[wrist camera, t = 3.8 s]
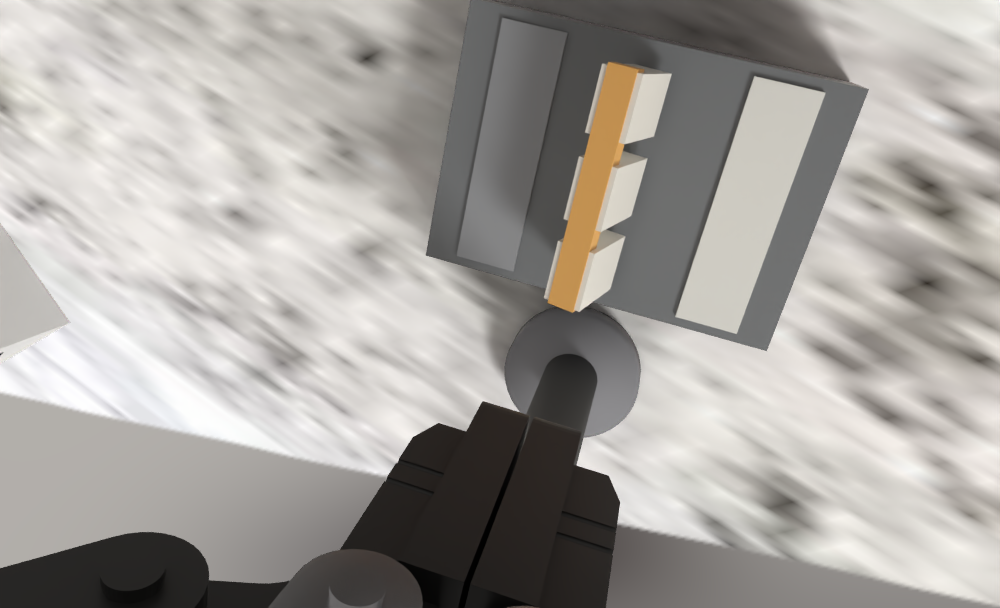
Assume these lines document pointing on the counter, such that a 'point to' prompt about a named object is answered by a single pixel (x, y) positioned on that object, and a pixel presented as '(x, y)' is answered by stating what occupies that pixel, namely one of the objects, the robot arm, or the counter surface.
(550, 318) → the stand
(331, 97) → the counter surface
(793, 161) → the breaker panel
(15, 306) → the grater
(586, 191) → the breaker paddles
